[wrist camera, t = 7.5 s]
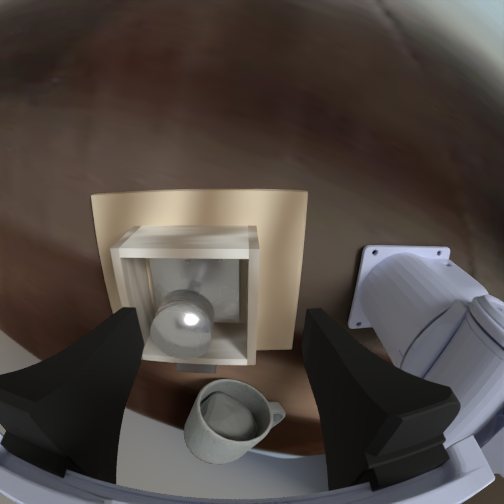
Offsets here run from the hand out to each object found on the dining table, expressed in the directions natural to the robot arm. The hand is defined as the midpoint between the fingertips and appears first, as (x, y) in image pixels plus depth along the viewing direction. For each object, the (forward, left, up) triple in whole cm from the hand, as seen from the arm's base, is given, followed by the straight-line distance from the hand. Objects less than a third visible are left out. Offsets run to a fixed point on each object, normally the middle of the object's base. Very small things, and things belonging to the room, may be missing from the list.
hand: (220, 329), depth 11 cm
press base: (+3, +3, -10) cm, 11 cm away
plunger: (+3, +3, -11) cm, 11 cm away
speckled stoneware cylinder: (0, +19, -11) cm, 22 cm away
